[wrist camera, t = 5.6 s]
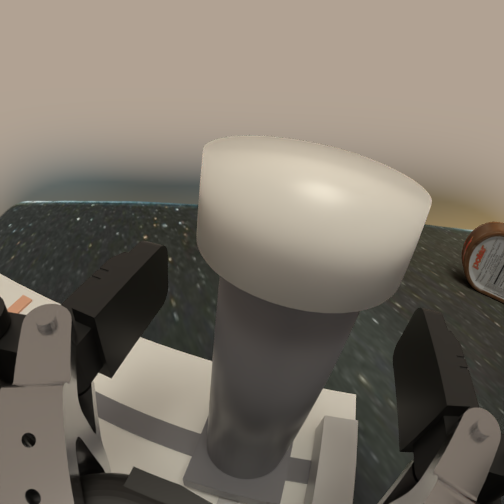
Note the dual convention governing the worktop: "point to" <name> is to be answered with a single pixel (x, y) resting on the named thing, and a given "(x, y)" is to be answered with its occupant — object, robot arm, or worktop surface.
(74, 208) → the worktop surface
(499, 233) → the tin
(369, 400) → the worktop surface
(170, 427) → the console
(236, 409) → the fader
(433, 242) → the worktop surface
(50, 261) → the worktop surface
